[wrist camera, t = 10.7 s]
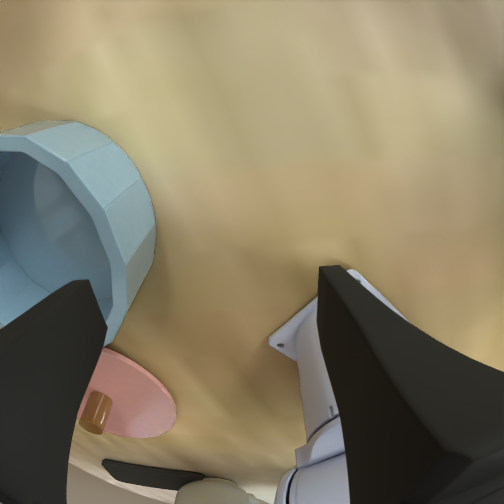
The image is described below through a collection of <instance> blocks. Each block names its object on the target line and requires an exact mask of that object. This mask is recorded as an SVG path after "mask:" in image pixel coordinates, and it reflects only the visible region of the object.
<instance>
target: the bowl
mask: <svg viewBox="0 0 504 504" xmlns="http://www.w3.org/2000/svg"><path fill="white" fill-rule="evenodd" d="M155 245H156V223H155V215H154V210H153V206H152V202H151V198H150V196H149V193H148V190H147V188H146V185H145V183H144V181H143V179H142V177H141V175H140V173H139V171H138V170H137V168H136V167H135V165H134V164H133V162H132V161H131V160H130V158H129V157H128V156H127V155H126V154H125V152H124V151H123V150H122V149H121V148H120V147H119V146H118V145H117V144H116V143H115V142H113V141H112V140H111V139H110V138H109V137H107V136H106V135H104V134H103V133H101V132H100V131H98V130H96V129H94V128H92V127H90V126H88V125H85V124H82V123H79V122H76V121H66V120H57V121H40V122H36V123H32V124H28V125H24V126H21V127H17V128H13V129H10V130H6V131H3V132H0V328H3V327H4V326H5V325H7V324H8V323H10V322H11V321H13V320H14V319H16V318H17V317H18V316H20V315H21V314H23V313H24V312H26V311H27V310H29V309H30V308H31V307H33V306H34V305H36V304H37V303H38V302H40V301H41V300H43V299H44V298H45V297H47V296H48V295H50V294H51V293H53V292H54V291H56V290H57V289H59V288H60V287H62V286H64V285H65V284H67V283H69V282H71V281H73V280H84V279H89V281H90V283H91V286H92V289H93V292H94V294H95V297H96V299H97V302H98V305H99V307H100V310H101V312H102V315H103V317H104V319H105V322H106V324H107V327H108V330H107V334H106V338H105V342H104V345H103V347H104V346H106V345H108V344H109V343H111V342H112V341H113V340H114V338H115V336H116V334H117V332H118V330H119V328H120V326H121V324H122V322H123V320H124V318H125V316H126V314H127V312H128V310H129V308H130V306H131V304H132V302H133V300H134V298H135V296H136V294H137V292H138V290H139V289H140V287H141V285H142V283H143V281H144V279H145V277H146V275H147V273H148V272H149V270H150V268H151V266H152V264H153V259H154V253H155Z"/></svg>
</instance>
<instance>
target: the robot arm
mask: <svg viewBox="0 0 504 504" xmlns="http://www.w3.org/2000/svg"><path fill="white" fill-rule="evenodd" d="M356 279H358V281H357V280H356ZM107 330H108V327H107V324H106V322H105V319H104V317H103V315H102V312H101V310H100V307H99V305H98V302H97V299H96V297H95V294H94V292H93V289H92V286H91V283H90V281H89V279H84V280H73V281H71V282H69V283H67V284H65V285H64V286H62V287H60V288H59V289H57V290H56V291H54V292H53V293H51V294H50V295H48V296H47V297H45V298H44V299H43V300H41V301H40V302H38V303H37V304H36V305H34V306H33V307H31V308H30V309H29V310H27V311H26V312H24V313H23V314H21V315H20V316H18V317H17V318H16V319H14V320H13V321H11V322H10V323H8V324H7V325H5V326H4V327H3V328H1V329H0V504H67V502H66V486H67V484H66V483H67V470H68V460H69V453H70V447H71V441H72V436H73V431H74V427H75V422H76V418H77V414H78V411H79V408H80V405H81V403H82V400H83V397H84V395H85V392H86V390H87V387H88V385H89V382H90V380H91V377H92V375H93V373H94V370H95V368H96V365H97V363H98V360H99V358H100V355H101V352H102V349H103V345H104V342H105V338H106V334H107ZM268 343H269V345H270V346H271V347H273V348H274V349H276V350H278V351H279V352H281V353H283V354H284V355H286V356H287V357H289V358H291V359H292V360H294V361H296V362H297V364H298V372H299V380H300V388H301V397H302V405H303V414H304V422H305V431H306V440H307V444H305V445H304V446H302V447H300V448H297V449H296V450H295V454H296V466H295V467H293V468H291V469H289V470H288V471H287V472H286V473H284V475H283V476H282V478H281V480H280V482H279V484H278V487H277V491H276V496H275V503H274V504H504V372H502V371H500V370H497V369H495V368H492V367H490V366H487V365H485V364H483V363H480V362H478V361H476V360H474V359H471V358H469V357H467V356H465V355H463V354H461V353H459V352H458V351H456V350H454V349H452V348H450V347H448V346H446V345H444V344H443V343H441V342H439V341H437V340H436V339H434V338H432V337H431V336H429V335H428V334H426V333H425V332H423V331H421V330H420V329H418V328H417V327H415V326H414V325H413V324H412V323H411V322H410V321H409V320H408V319H407V318H406V317H404V316H403V315H402V314H401V313H400V312H399V311H398V310H397V309H396V308H395V307H394V306H393V305H392V304H391V303H390V302H389V301H388V300H387V299H386V298H385V297H384V296H383V295H382V294H381V293H380V292H379V291H378V290H376V289H375V288H374V287H373V286H372V285H371V284H370V283H369V282H368V281H367V280H366V279H365V278H364V277H363V276H362V275H360V274H359V273H358V272H357V271H356V270H354V269H348V270H347V271H346V270H345V269H344V268H342V267H341V266H340V265H333V266H320V267H319V279H318V296H317V297H316V298H315V299H314V300H312V301H311V302H310V303H309V304H308V305H307V306H305V307H304V308H303V309H302V310H301V311H300V312H298V313H297V314H296V315H295V316H294V317H292V318H291V319H290V320H289V321H288V322H286V323H285V324H284V325H283V326H282V327H280V328H279V329H278V330H277V331H276V332H274V333H273V334H272V335H271V336H270V337H269V338H268ZM279 343H282V345H279Z"/></svg>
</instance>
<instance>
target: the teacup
mask: <svg viewBox="0 0 504 504" xmlns="http://www.w3.org/2000/svg"><path fill="white" fill-rule="evenodd" d="M175 504H268V503H266V502H264V501H262V500H259V499H257V498H255V496H254V495H253V494H248V493H246V491H244V490H243V489H242V488H240V487H239V486H238V485H236V484H235V483H233V482H231V481H229V480H225V479H220V478H203V480H196V481H192V482H190V483H188V484H186V485H184V486H182V487H181V488H180V489H179V491H178V492H177V495H176V499H175Z"/></svg>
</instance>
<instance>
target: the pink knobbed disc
mask: <svg viewBox="0 0 504 504" xmlns="http://www.w3.org/2000/svg"><path fill="white" fill-rule="evenodd" d="M176 414H177V412H176V406H175V403H174V400H173V398H172V396H171V395H170V393H169V392H168V390H167V389H166V388H165V387H164V386H163V385H162V383H161V382H160V381H159V380H158V379H156V378H155V377H154V376H153V375H152V374H151V373H149V372H148V371H147V370H145V369H144V368H143V367H141V366H140V365H138V364H137V363H135V362H134V361H132V360H130V359H128V358H127V357H125V356H123V355H121V354H119V353H117V352H115V351H113V350H110V349H108V348H105V347H103V349H102V352H101V355H100V358H99V360H98V363H97V365H96V368H95V370H94V373H93V375H92V377H91V380H90V382H89V385H88V387H87V390H86V392H85V395H84V397H83V400H82V403H81V405H80V408H79V411H78V414H77V418H78V419H79V424H80V426H81V427H82V428H84V429H85V430H87V431H88V432H91V433H93V434H98V435H100V434H102V433H103V431H105V432H108V433H111V434H114V435H118V436H123V437H130V438H151V437H156V436H159V435H162V434H164V433H166V432H167V431H169V430H170V429H171V428H172V426H173V425H174V423H175V420H176Z"/></svg>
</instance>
